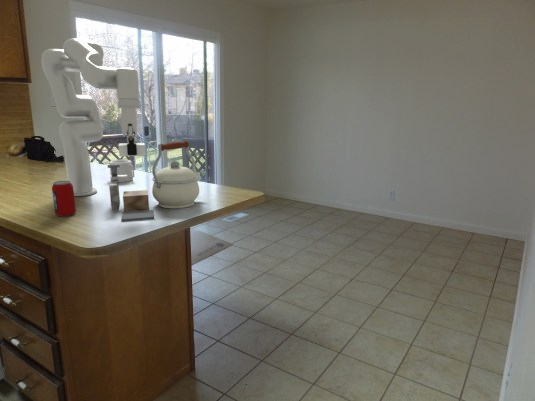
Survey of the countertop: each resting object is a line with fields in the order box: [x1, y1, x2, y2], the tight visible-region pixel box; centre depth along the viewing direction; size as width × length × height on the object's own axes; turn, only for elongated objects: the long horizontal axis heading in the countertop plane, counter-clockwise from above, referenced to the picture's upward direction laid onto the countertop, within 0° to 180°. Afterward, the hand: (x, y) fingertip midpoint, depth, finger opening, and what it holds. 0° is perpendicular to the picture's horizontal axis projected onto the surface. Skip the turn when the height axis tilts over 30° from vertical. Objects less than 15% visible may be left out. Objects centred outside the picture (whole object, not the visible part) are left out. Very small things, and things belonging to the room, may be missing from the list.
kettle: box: [151, 140, 201, 210], centre depth 153 cm, size 25×18×25 cm
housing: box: [108, 179, 150, 212], centre depth 149 cm, size 14×13×10 cm
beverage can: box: [51, 180, 77, 217], centre depth 138 cm, size 7×7×12 cm
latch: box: [107, 164, 127, 181], centre depth 150 cm, size 7×3×6 cm, turn 108°
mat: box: [120, 209, 155, 222], centre depth 138 cm, size 11×9×1 cm
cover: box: [118, 142, 146, 157], centre depth 143 cm, size 9×6×4 cm, turn 108°
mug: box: [108, 159, 135, 183], centre depth 196 cm, size 14×11×10 cm
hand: (132, 153), depth 143 cm, fingers closed on cover, 6 cm apart
